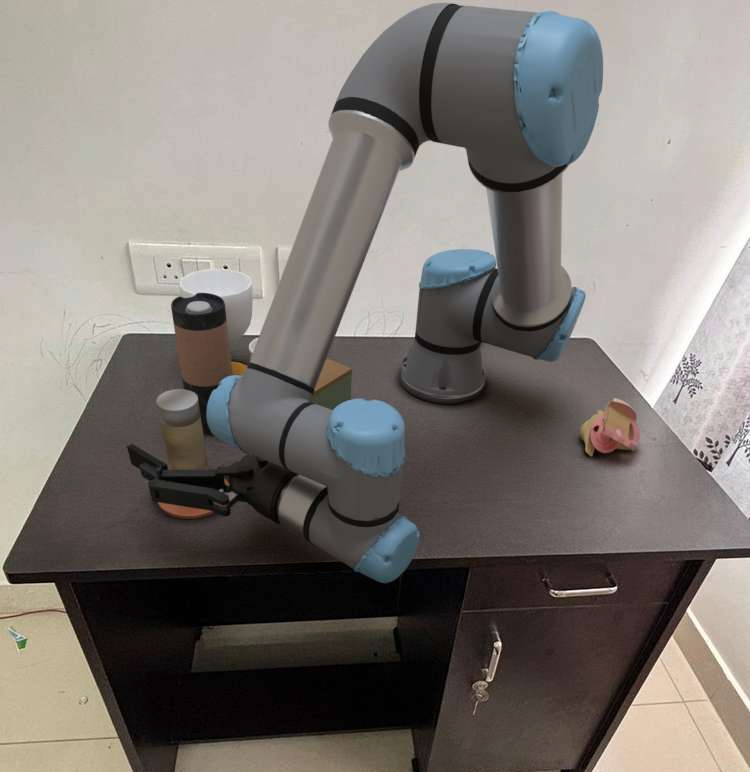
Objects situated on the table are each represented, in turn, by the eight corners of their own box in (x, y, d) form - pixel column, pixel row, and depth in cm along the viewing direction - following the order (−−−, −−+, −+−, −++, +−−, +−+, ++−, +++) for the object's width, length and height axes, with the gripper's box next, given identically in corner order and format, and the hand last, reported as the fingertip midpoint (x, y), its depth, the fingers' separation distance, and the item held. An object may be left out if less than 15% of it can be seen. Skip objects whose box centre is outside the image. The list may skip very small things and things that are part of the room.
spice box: (349, 446, 99) (352, 368, 90) (298, 484, 92) (296, 402, 83) (310, 428, 103) (309, 350, 94) (258, 462, 95) (252, 381, 86)
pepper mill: (208, 496, 92) (253, 469, 81) (181, 514, 88) (224, 488, 78) (151, 413, 89) (190, 374, 79) (121, 428, 86) (157, 390, 75)
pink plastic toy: (560, 448, 103) (580, 393, 104) (603, 470, 107) (622, 417, 108) (600, 450, 95) (622, 391, 95) (645, 474, 99) (666, 417, 99)
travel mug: (226, 437, 99) (212, 317, 86) (181, 430, 100) (160, 310, 87) (244, 412, 105) (233, 296, 92) (200, 405, 106) (184, 289, 93)
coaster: (209, 464, 94) (209, 461, 94) (243, 500, 88) (243, 497, 88) (145, 489, 89) (144, 486, 89) (177, 529, 83) (176, 526, 83)
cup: (179, 381, 111) (163, 287, 100) (216, 353, 120) (206, 263, 109) (236, 398, 108) (227, 302, 97) (271, 368, 117) (265, 277, 106)
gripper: (220, 581, 69) (98, 499, 78) (359, 472, 84) (245, 415, 93) (212, 531, 64) (83, 450, 73) (361, 425, 80) (241, 369, 89)
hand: (174, 430), depth 83 cm, fingers open, 13 cm apart
